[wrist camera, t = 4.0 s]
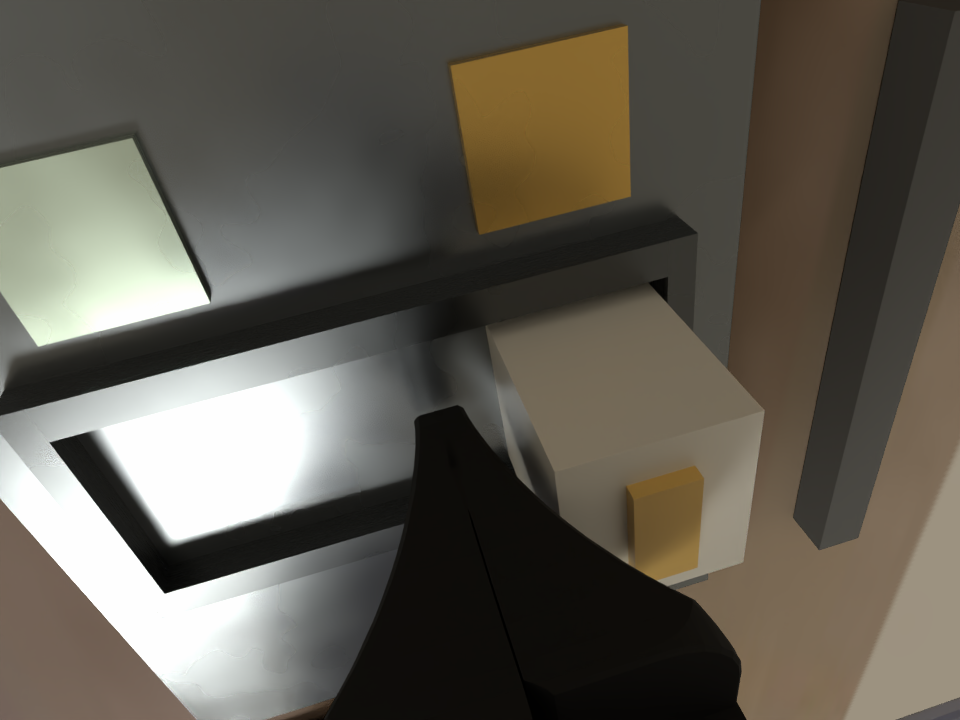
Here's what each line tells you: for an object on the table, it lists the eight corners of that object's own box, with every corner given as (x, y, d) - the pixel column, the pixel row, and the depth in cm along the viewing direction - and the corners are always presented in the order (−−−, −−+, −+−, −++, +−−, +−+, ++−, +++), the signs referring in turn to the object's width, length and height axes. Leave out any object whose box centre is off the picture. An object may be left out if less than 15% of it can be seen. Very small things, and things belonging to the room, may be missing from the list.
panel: (689, 550, 23) (720, 600, 21) (214, 697, 21) (209, 764, 19) (737, -231, 11) (818, -251, 9) (-373, -21, 9) (-514, 0, 7)
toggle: (643, 415, 17) (751, 575, 13) (508, 455, 16) (578, 630, 12) (642, 277, 14) (775, 422, 10) (484, 319, 14) (560, 485, 10)
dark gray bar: (830, 506, 23) (858, 537, 22) (793, 517, 23) (819, 550, 22) (961, -14, 13) (1022, -5, 12) (899, 0, 13) (955, 11, 12)
